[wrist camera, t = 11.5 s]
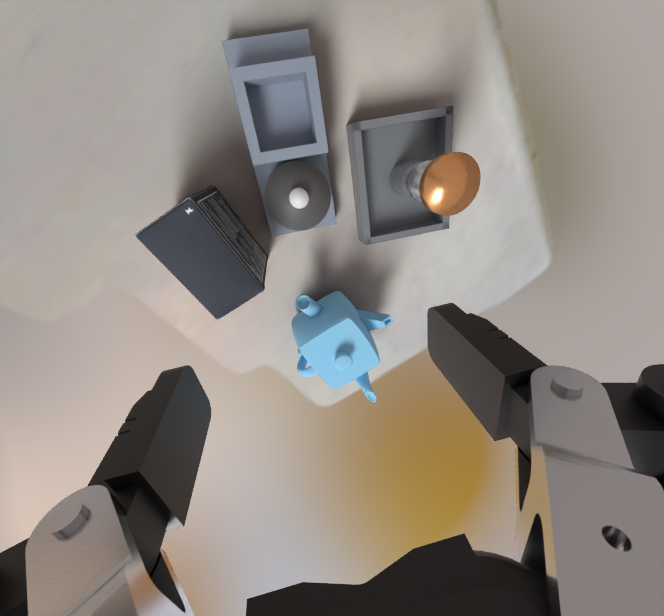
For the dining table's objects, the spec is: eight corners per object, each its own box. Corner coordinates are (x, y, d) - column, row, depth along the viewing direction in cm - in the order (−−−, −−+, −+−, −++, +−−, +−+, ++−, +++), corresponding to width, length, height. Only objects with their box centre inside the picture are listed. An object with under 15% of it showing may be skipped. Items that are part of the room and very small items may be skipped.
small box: (169, 215, 34) (128, 235, 25) (214, 183, 33) (189, 192, 24) (229, 284, 39) (214, 323, 30) (270, 258, 38) (267, 289, 29)
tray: (346, 125, 33) (352, 122, 30) (438, 110, 34) (453, 105, 31) (358, 239, 39) (365, 245, 36) (437, 223, 40) (448, 228, 37)
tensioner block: (225, 48, 28) (214, 25, 23) (306, 36, 29) (311, 11, 24) (271, 232, 37) (270, 243, 32) (333, 220, 37) (341, 229, 32)
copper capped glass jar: (382, 158, 34) (424, 157, 24) (424, 151, 35) (482, 147, 25) (385, 204, 37) (425, 220, 27) (424, 196, 37) (477, 209, 27)
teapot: (259, 301, 40) (254, 340, 32) (345, 245, 39) (364, 270, 30) (327, 380, 49) (338, 428, 40) (399, 336, 47) (428, 377, 38)
